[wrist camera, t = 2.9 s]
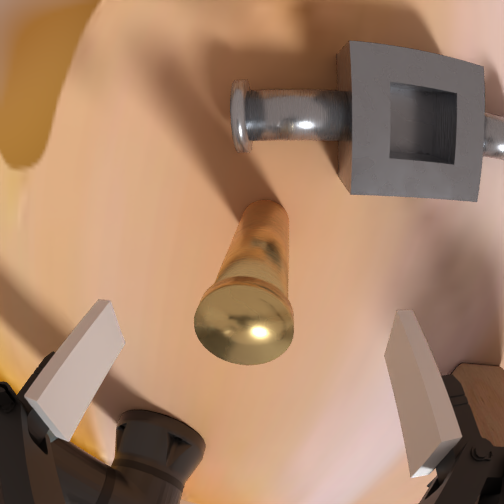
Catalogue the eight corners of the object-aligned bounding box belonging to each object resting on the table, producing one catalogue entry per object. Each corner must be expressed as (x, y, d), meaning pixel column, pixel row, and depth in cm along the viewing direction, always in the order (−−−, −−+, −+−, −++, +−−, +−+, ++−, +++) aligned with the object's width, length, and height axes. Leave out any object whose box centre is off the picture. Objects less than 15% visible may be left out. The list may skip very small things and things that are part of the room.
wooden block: (459, 359, 31) (510, 492, 13) (503, 363, 31) (553, 472, 13) (420, 408, 36) (447, 529, 18) (465, 408, 36) (498, 512, 18)
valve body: (246, 176, 25) (235, 194, 20) (240, 55, 21) (226, 41, 16) (504, 189, 22) (538, 209, 17) (510, 89, 18) (547, 91, 13)
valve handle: (239, 247, 28) (201, 361, 15) (236, 196, 26) (186, 286, 13) (292, 247, 27) (292, 366, 15) (292, 196, 25) (295, 289, 13)
